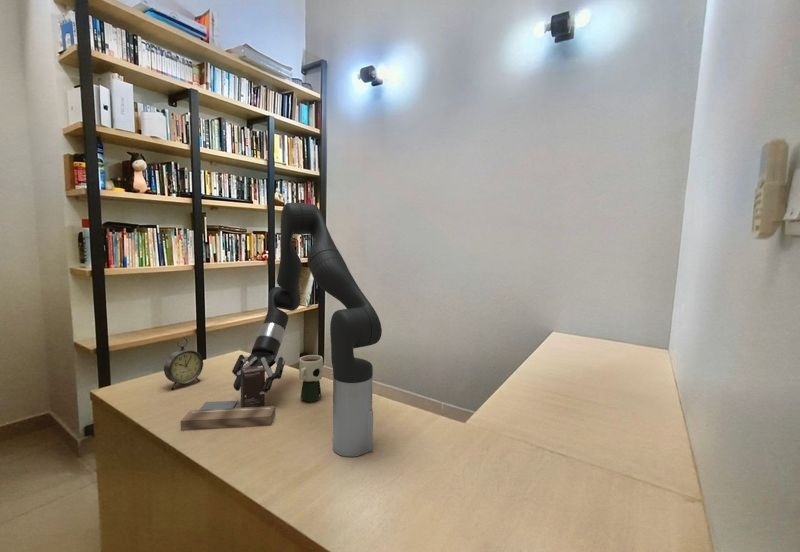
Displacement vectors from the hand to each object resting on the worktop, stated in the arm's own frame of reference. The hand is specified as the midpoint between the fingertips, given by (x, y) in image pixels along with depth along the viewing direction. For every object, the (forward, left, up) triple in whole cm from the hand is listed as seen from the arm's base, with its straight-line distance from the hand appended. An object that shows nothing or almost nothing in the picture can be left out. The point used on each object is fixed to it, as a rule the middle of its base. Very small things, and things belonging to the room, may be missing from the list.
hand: (250, 390), depth 102 cm
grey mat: (+10, -2, -6) cm, 11 cm away
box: (0, -1, -6) cm, 6 cm away
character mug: (-16, -6, -6) cm, 18 cm away
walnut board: (+4, +6, -6) cm, 9 cm away
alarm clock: (+27, -22, -6) cm, 35 cm away
